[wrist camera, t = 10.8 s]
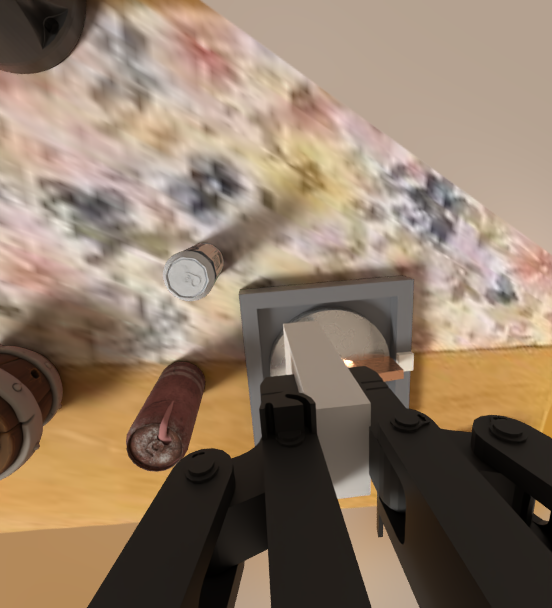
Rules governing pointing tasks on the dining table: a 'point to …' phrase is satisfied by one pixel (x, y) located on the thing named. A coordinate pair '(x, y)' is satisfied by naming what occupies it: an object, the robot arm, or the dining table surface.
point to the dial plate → (347, 294)
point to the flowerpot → (25, 404)
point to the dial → (344, 342)
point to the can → (167, 418)
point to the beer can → (193, 271)
